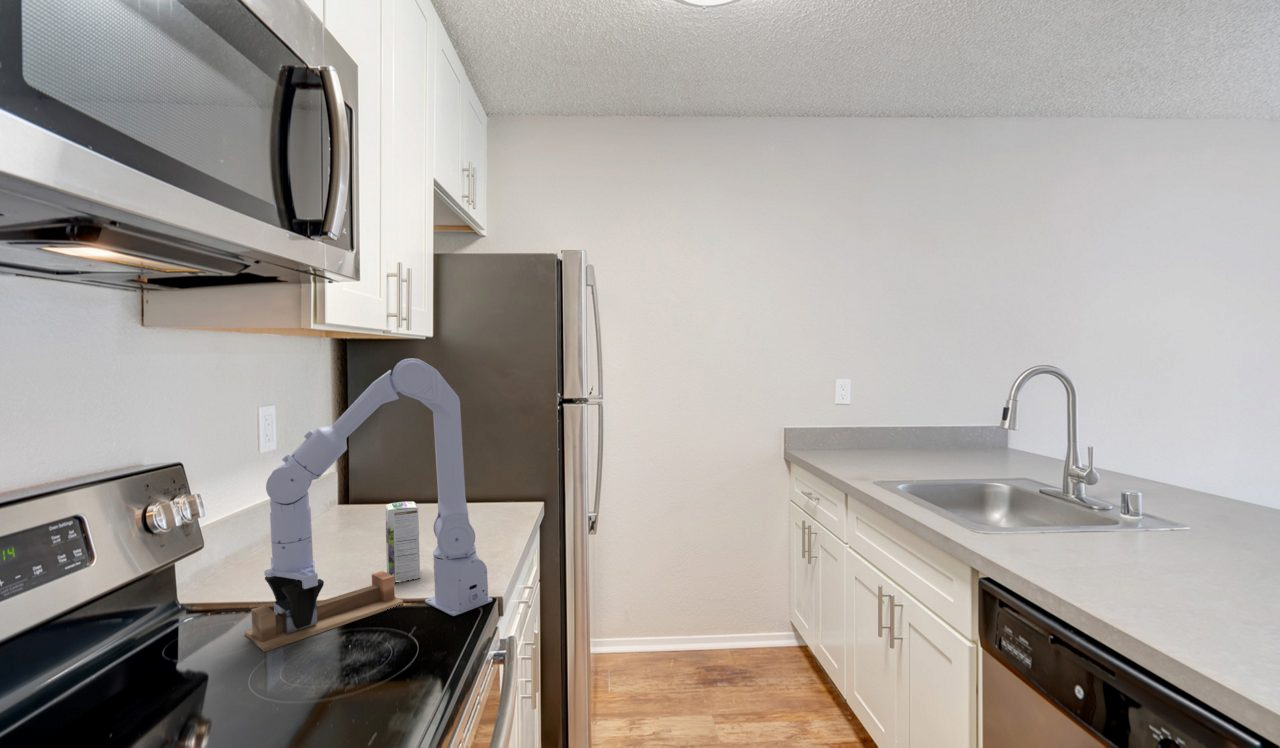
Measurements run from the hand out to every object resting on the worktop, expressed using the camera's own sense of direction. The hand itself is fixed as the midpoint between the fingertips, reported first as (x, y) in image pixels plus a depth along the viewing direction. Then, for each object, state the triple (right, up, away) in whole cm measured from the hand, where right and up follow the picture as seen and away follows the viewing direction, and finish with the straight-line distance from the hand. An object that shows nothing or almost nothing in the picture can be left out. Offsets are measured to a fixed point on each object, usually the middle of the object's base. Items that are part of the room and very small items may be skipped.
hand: (295, 620), depth 100 cm
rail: (+3, -1, +4) cm, 5 cm away
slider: (0, -1, 0) cm, 1 cm away
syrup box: (+9, -1, +22) cm, 24 cm away
